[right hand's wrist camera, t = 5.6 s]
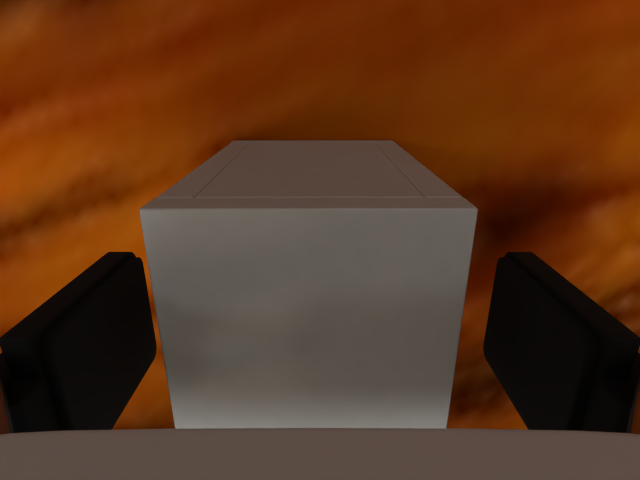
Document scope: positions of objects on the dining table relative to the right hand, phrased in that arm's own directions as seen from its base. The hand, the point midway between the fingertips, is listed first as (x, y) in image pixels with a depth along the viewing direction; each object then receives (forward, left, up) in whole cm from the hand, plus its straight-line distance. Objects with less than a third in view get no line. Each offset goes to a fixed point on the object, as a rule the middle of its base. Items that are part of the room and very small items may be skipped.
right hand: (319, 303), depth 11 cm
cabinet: (+4, +3, -7) cm, 9 cm away
